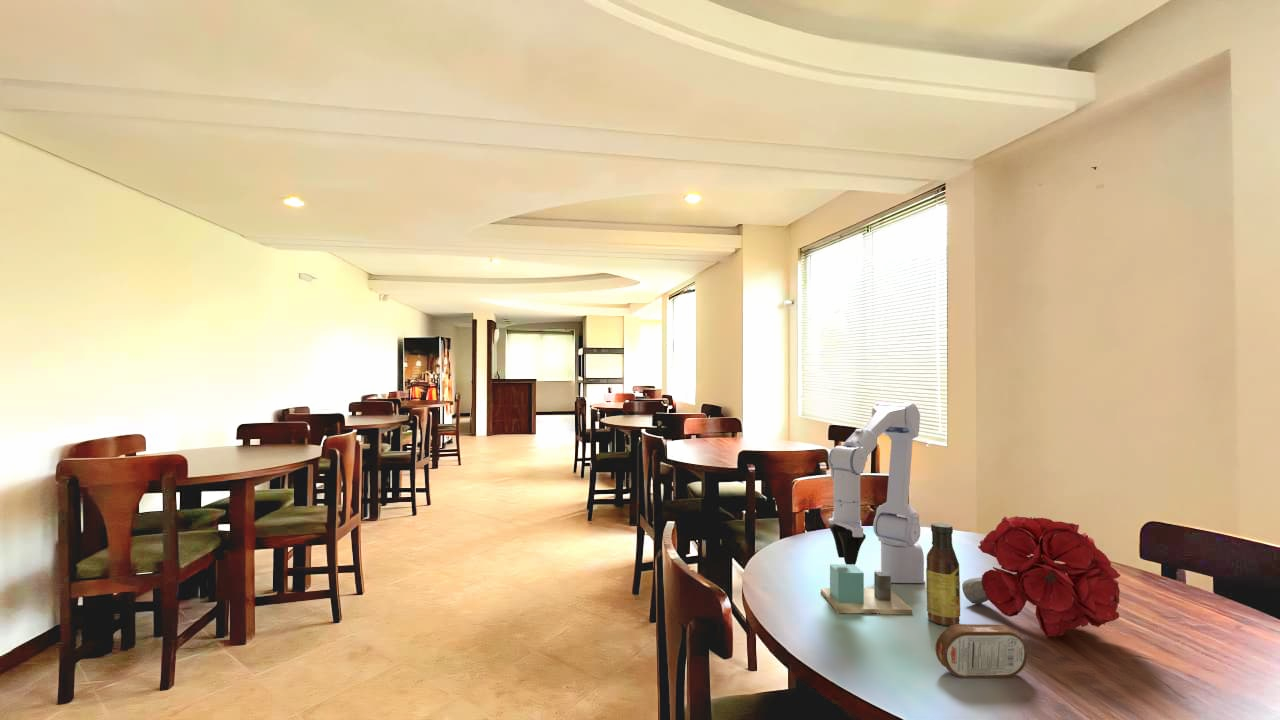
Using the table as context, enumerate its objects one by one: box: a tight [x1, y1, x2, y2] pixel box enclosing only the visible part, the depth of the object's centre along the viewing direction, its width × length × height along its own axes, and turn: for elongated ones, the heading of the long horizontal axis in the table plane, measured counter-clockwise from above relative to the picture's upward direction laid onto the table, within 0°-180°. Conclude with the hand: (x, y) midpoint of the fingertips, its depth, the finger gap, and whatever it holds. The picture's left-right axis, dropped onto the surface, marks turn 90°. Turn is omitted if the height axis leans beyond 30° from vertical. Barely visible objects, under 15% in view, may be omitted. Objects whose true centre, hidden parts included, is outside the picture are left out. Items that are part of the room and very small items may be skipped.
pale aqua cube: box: [829, 564, 865, 603], centre depth 132 cm, size 6×6×7 cm
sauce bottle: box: [925, 522, 961, 627], centre depth 123 cm, size 6×6×20 cm
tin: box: [935, 623, 1029, 679], centre depth 101 cm, size 15×3×8 cm, turn 92°
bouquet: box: [961, 515, 1121, 637], centre depth 121 cm, size 22×24×30 cm
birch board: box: [820, 571, 913, 615], centre depth 132 cm, size 16×12×6 cm
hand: (846, 560), depth 132 cm, fingers open, 4 cm apart
